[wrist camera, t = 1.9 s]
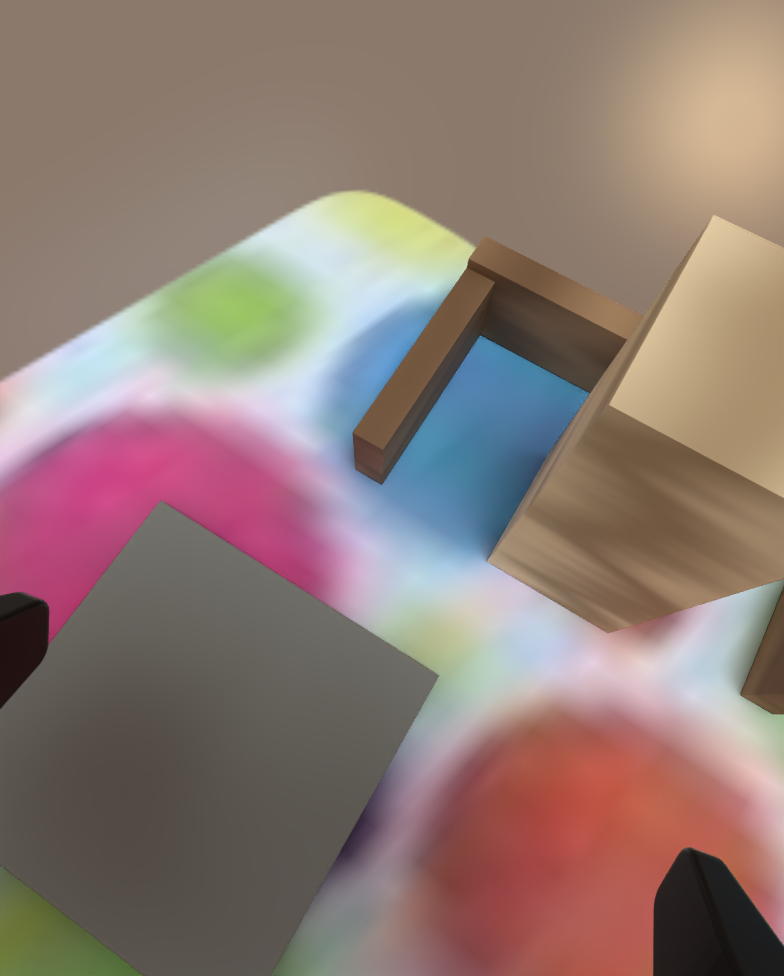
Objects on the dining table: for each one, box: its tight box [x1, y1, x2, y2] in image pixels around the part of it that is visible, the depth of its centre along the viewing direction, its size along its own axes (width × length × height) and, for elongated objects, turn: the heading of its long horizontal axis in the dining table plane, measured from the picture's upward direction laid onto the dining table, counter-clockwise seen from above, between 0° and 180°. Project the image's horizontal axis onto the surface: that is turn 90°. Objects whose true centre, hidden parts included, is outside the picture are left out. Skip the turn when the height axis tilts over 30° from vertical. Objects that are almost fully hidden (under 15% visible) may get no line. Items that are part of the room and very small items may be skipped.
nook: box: [353, 236, 784, 714], centre depth 23 cm, size 17×9×4 cm, turn 59°
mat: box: [0, 500, 439, 976], centre depth 21 cm, size 12×12×1 cm
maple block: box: [487, 215, 784, 633], centre depth 18 cm, size 5×5×13 cm
